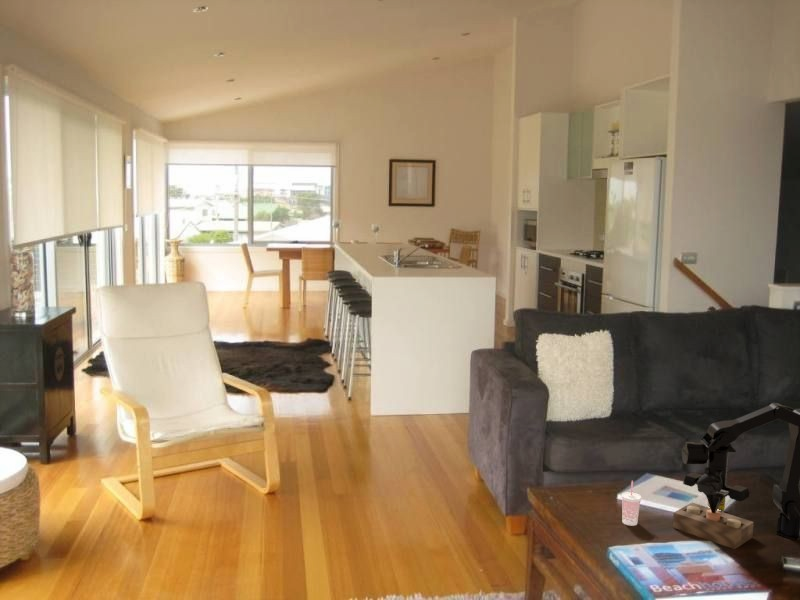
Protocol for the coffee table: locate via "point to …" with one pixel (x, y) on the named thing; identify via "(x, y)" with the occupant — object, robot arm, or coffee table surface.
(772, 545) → the coffee table surface
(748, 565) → the coffee table surface
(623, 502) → the beverage cup
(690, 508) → the maple plug far
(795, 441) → the robot arm
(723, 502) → the supplement bottle
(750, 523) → the wooden compartment tray
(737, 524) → the maple plug near
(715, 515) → the terracotta plug
